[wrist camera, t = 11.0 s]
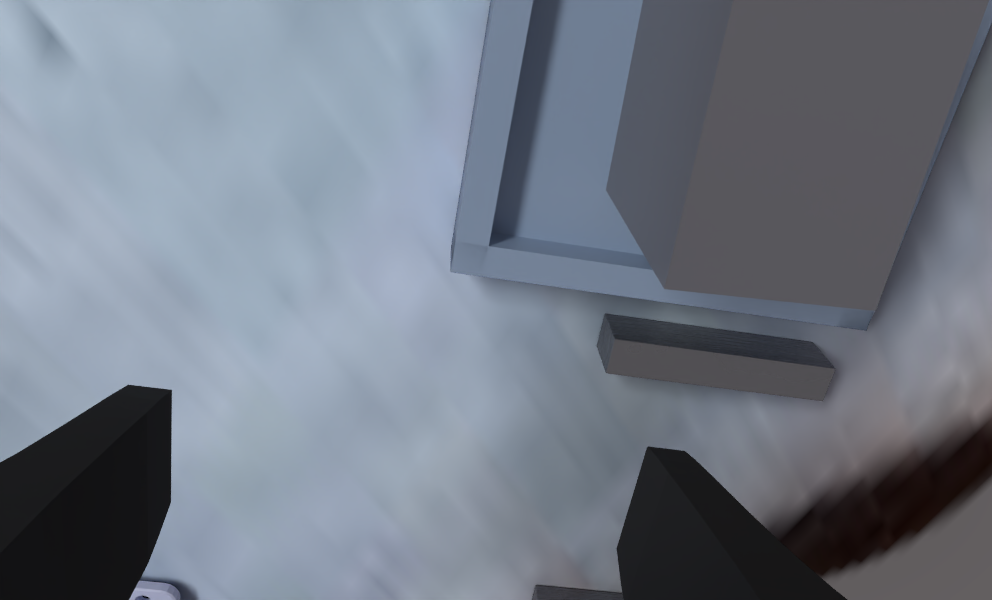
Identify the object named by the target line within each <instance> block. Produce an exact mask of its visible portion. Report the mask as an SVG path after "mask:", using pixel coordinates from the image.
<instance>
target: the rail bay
mask: <svg viewBox="0 0 992 600" xmlns="http://www.w3.org/2000/svg"><path fill="white" fill-rule="evenodd" d="M597 348H598V351H599V354H600V357H601V360H602V363H603V366H604V369H605V372H606V373H609V374H617V375H625V376H632V377H640V378H648V379H655V380H663V381H671V382H679V383H686V384H694V385H702V386H710V387H717V388H725V389H733V390H741V391H748V392H756V393H764V394H772V395H779V396H787V397H795V398H803V399H810V400H818V401H823V399H824V397H825V394H826V392H827V389H828V387H829V384H830V382H831V379H832V377H833V374H834V372H835V368H834V366H833V365H832V364H831V363H830V362H829V361H828V360H827V358H826V357H825V356H824V355H823V354H822V353H821V352H820V350H819V349H818V348H817V347H816V346H815V345H814V344H813V342H807V341H800V340H792V339H785V338H778V337H771V336H763V335H756V334H749V333H742V332H734V331H727V330H720V329H713V328H705V327H698V326H691V325H684V324H676V323H669V322H662V321H655V320H647V319H640V318H633V317H626V316H618V315H611V314H605V315H604V319H603V323H602V327H601V331H600V335H599V339H598V343H597ZM532 600H624V599H623V594H621V593H611V592H600V591H590V590H580V589H569V588H559V587H549V586H538V585H536V586H535V590H534V594H533V598H532Z"/></svg>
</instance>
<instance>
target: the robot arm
mask: <svg viewBox="0 0 992 600" xmlns="http://www.w3.org/2000/svg"><path fill="white" fill-rule="evenodd" d="M171 414H172V390H168V389H159V388H151V387H142V386H134V385H127V386H126V387H124V388H122V389H120V390H119V391H117V392H115V393H114V394H112V395H110V396H109V397H107V398H106V399H104V400H102V401H101V402H99V403H98V404H96V405H94V406H93V407H91V408H90V409H88V410H87V411H85V412H83V413H82V414H80V415H79V416H77V417H76V418H74V419H72V420H71V421H69V422H68V423H66V424H64V425H63V426H61V427H59V428H58V429H56V430H55V431H53V432H51V433H50V434H48V435H46V436H45V437H43V438H41V439H40V440H38V441H37V442H35V443H33V444H32V445H30V446H28V447H27V448H25V449H23V450H22V451H20V452H18V453H17V454H15V455H13V456H11V457H10V458H8V459H6V460H4V461H2V462H0V600H180V593H179V591H178V590H177V589H176V587H174V586H172V585H171V584H167V583H160V582H149V581H139V580H140V578H141V576H142V574H143V572H144V570H145V568H146V566H147V564H148V562H149V560H150V557H151V554H152V552H153V549H154V547H155V544H156V541H157V539H158V536H159V534H160V531H161V528H162V525H163V523H164V520H165V517H166V514H167V512H168V509H169V506H170V503H171ZM617 554H618V563H619V571H620V579H621V586H622V593H623V599H624V600H847V599H846V598H845V597H843V596H842V595H841V594H840V593H838V592H837V591H836V590H835V589H833V588H832V587H831V586H830V585H829V584H827V583H826V582H825V581H824V580H823V579H822V578H820V577H819V576H818V575H817V574H816V573H815V572H814V571H812V570H811V569H810V568H809V567H808V566H807V565H805V564H804V563H803V562H802V561H801V560H800V559H798V558H797V557H796V556H795V555H794V554H793V553H792V552H791V551H790V550H788V549H787V548H786V547H785V546H784V545H783V544H782V543H781V542H780V541H779V540H778V539H776V538H775V537H774V536H773V535H772V534H771V533H770V532H769V531H768V530H767V529H766V528H765V527H764V526H763V525H762V524H761V523H760V522H759V521H758V520H756V519H755V518H754V517H753V516H752V515H751V514H750V513H749V512H748V511H747V510H746V509H745V508H744V507H743V506H742V505H741V504H740V503H739V502H738V501H737V500H736V499H735V498H734V497H733V496H732V495H731V494H730V493H729V492H728V491H727V490H726V489H725V488H724V487H723V486H722V485H721V484H720V483H719V482H718V481H717V480H716V479H715V478H714V477H713V476H712V475H711V474H710V473H709V472H707V471H706V470H705V469H704V468H703V467H702V466H701V465H700V464H699V463H698V462H697V461H696V460H695V459H694V458H693V457H691V456H690V455H689V454H688V453H687V452H685V451H680V450H672V449H663V448H655V447H647V450H646V453H645V456H644V460H643V463H642V466H641V470H640V473H639V476H638V480H637V483H636V486H635V490H634V493H633V496H632V500H631V503H630V506H629V509H628V513H627V516H626V519H625V523H624V526H623V529H622V533H621V536H620V539H619V543H618V546H617ZM142 596H146V597H148V598H150V599H147V598H143V597H142Z"/></svg>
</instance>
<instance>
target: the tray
mask: <svg viewBox="0 0 992 600" xmlns="http://www.w3.org/2000/svg"><path fill="white" fill-rule="evenodd" d="M642 3H643V0H491V2H490V8H489V14H488V21H487V27H486V33H485V39H484V46H483V52H482V58H481V64H480V71H479V77H478V83H477V89H476V95H475V102H474V108H473V114H472V120H471V127H470V133H469V139H468V145H467V152H466V158H465V164H464V170H463V177H462V183H461V189H460V195H459V202H458V208H457V214H456V220H455V226H454V233H453V239H452V245H451V272H453V273H461V274H468V275H475V276H482V277H489V278H496V279H503V280H510V281H517V282H524V283H531V284H539V285H546V286H553V287H560V288H567V289H574V290H581V291H588V292H595V293H602V294H610V295H617V296H624V297H631V298H638V299H645V300H652V301H659V302H666V303H673V304H680V305H688V306H695V307H702V308H709V309H716V310H723V311H730V312H737V313H744V314H751V315H758V316H766V317H773V318H780V319H787V320H794V321H801V322H808V323H815V324H822V325H829V326H837V327H844V328H851V329H858V330H865V331H866V330H867V328H868V325H869V323H870V320H871V318H872V315H873V313H874V311H871V310H861V309H851V308H842V307H832V306H822V305H813V304H803V303H793V302H784V301H774V300H764V299H755V298H745V297H735V296H726V295H716V294H706V293H697V292H687V291H678V290H668V289H664V288H663V286H662V285H661V283H660V281H659V280H658V278H657V276H656V275H655V273H654V271H653V269H652V268H651V266H650V264H649V263H648V261H647V259H646V257H645V256H644V254H643V252H642V251H641V249H640V247H639V246H638V244H637V242H636V240H635V239H634V237H633V235H632V234H631V232H630V230H629V229H628V227H627V225H626V223H625V222H624V220H623V218H622V217H621V215H620V213H619V212H618V210H617V208H616V206H615V205H614V203H613V201H612V200H611V198H610V196H609V195H608V193H607V191H606V187H607V182H608V176H609V171H610V166H611V161H612V156H613V151H614V146H615V141H616V136H617V130H618V125H619V120H620V115H621V110H622V105H623V100H624V95H625V90H626V84H627V79H628V74H629V69H630V64H631V59H632V54H633V49H634V44H635V38H636V33H637V28H638V23H639V18H640V13H641V8H642ZM991 24H992V0H989V2H988V5H987V8H986V10H985V13H984V16H983V18H982V21H981V24H980V27H979V29H978V32H977V35H976V38H975V40H974V43H973V46H972V49H971V51H970V54H969V57H968V60H967V62H966V65H965V68H964V71H963V73H962V76H961V79H960V82H959V84H958V87H957V90H956V93H955V95H954V98H953V101H952V104H951V106H950V109H949V112H948V115H947V117H946V120H945V123H944V126H943V128H942V131H941V134H940V137H939V139H938V142H937V145H936V147H935V150H934V153H933V156H932V158H931V161H930V164H929V167H928V169H927V172H926V175H925V178H924V180H923V183H922V186H921V189H920V191H919V194H918V197H917V200H916V202H915V205H914V208H913V211H912V213H911V216H910V219H909V222H908V224H907V227H906V230H905V233H904V235H903V238H902V241H901V244H902V242H903V239H904V237H905V234H906V232H907V229H908V227H909V225H910V222H911V220H912V217H913V215H914V212H915V210H916V207H917V205H918V202H919V200H920V198H921V195H922V193H923V190H924V188H925V185H926V183H927V180H928V178H929V176H930V173H931V171H932V168H933V166H934V163H935V161H936V158H937V156H938V153H939V151H940V149H941V146H942V144H943V141H944V139H945V136H946V134H947V131H948V129H949V127H950V124H951V122H952V119H953V117H954V114H955V112H956V109H957V107H958V104H959V102H960V100H961V97H962V95H963V92H964V90H965V87H966V85H967V82H968V80H969V77H970V75H971V73H972V70H973V68H974V65H975V63H976V60H977V58H978V55H979V53H980V51H981V48H982V46H983V43H984V41H985V38H986V36H987V33H988V31H989V28H990V26H991ZM901 244H900V246H899V249H900V247H901ZM899 249H898V252H899ZM898 252H897V254H898ZM896 256H897V255H896ZM895 259H896V257H895ZM894 261H895V260H894ZM893 264H894V263H893ZM892 266H893V265H892ZM891 269H892V268H891Z"/></svg>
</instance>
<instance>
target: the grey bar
mask: <svg viewBox="0 0 992 600" xmlns="http://www.w3.org/2000/svg"><path fill="white" fill-rule="evenodd" d="M988 2H989V0H643V3H642V8H641V13H640V18H639V23H638V28H637V33H636V38H635V44H634V49H633V54H632V59H631V64H630V69H629V74H628V79H627V84H626V90H625V95H624V100H623V105H622V110H621V115H620V120H619V125H618V130H617V136H616V141H615V146H614V151H613V156H612V161H611V166H610V171H609V176H608V182H607V187H606V191H607V193H608V195H609V196H610V198H611V200H612V201H613V203H614V205H615V206H616V208H617V210H618V212H619V213H620V215H621V217H622V218H623V220H624V222H625V223H626V225H627V227H628V229H629V230H630V232H631V234H632V235H633V237H634V239H635V240H636V242H637V244H638V246H639V247H640V249H641V251H642V252H643V254H644V256H645V257H646V259H647V261H648V263H649V264H650V266H651V268H652V269H653V271H654V273H655V275H656V276H657V278H658V280H659V281H660V283H661V285H662V286H663V288H664V289H668V290H678V291H687V292H697V293H706V294H716V295H726V296H735V297H745V298H755V299H764V300H774V301H784V302H793V303H803V304H813V305H822V306H832V307H842V308H851V309H861V310H871V311H876V309H877V307H878V304H879V301H880V298H881V296H882V293H883V290H884V287H885V285H886V282H887V279H888V276H889V274H890V271H891V268H892V265H893V263H894V260H895V257H896V255H897V252H898V249H899V246H900V244H901V241H902V238H903V235H904V233H905V230H906V227H907V224H908V222H909V219H910V216H911V213H912V211H913V208H914V205H915V202H916V200H917V197H918V194H919V191H920V189H921V186H922V183H923V180H924V178H925V175H926V172H927V169H928V167H929V164H930V161H931V158H932V156H933V153H934V150H935V147H936V145H937V142H938V139H939V137H940V134H941V131H942V128H943V126H944V123H945V120H946V117H947V115H948V112H949V109H950V106H951V104H952V101H953V98H954V95H955V93H956V90H957V87H958V84H959V82H960V79H961V76H962V73H963V71H964V68H965V65H966V62H967V60H968V57H969V54H970V51H971V49H972V46H973V43H974V40H975V38H976V35H977V32H978V29H979V27H980V24H981V21H982V18H983V16H984V13H985V10H986V8H987V5H988Z"/></svg>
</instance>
